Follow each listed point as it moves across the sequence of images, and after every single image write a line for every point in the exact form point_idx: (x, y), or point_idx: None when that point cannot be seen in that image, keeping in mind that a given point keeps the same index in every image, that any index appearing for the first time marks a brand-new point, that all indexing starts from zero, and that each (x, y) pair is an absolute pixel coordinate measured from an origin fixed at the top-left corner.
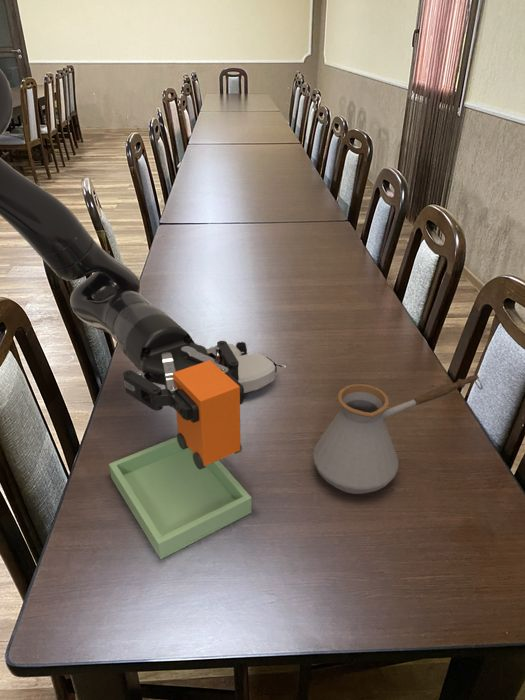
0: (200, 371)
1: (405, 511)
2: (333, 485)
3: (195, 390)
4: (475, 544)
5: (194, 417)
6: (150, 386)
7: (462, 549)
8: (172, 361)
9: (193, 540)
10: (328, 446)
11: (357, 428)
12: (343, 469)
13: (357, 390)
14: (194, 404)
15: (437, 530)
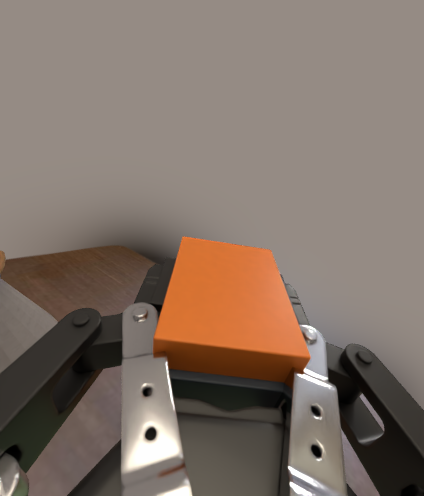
0: (223, 308)
1: (46, 307)
2: None
3: (269, 269)
4: (59, 268)
5: None
6: (382, 381)
7: (70, 271)
8: (292, 468)
9: None
10: (20, 347)
11: (7, 287)
12: (49, 327)
13: None
14: None
15: (58, 285)
